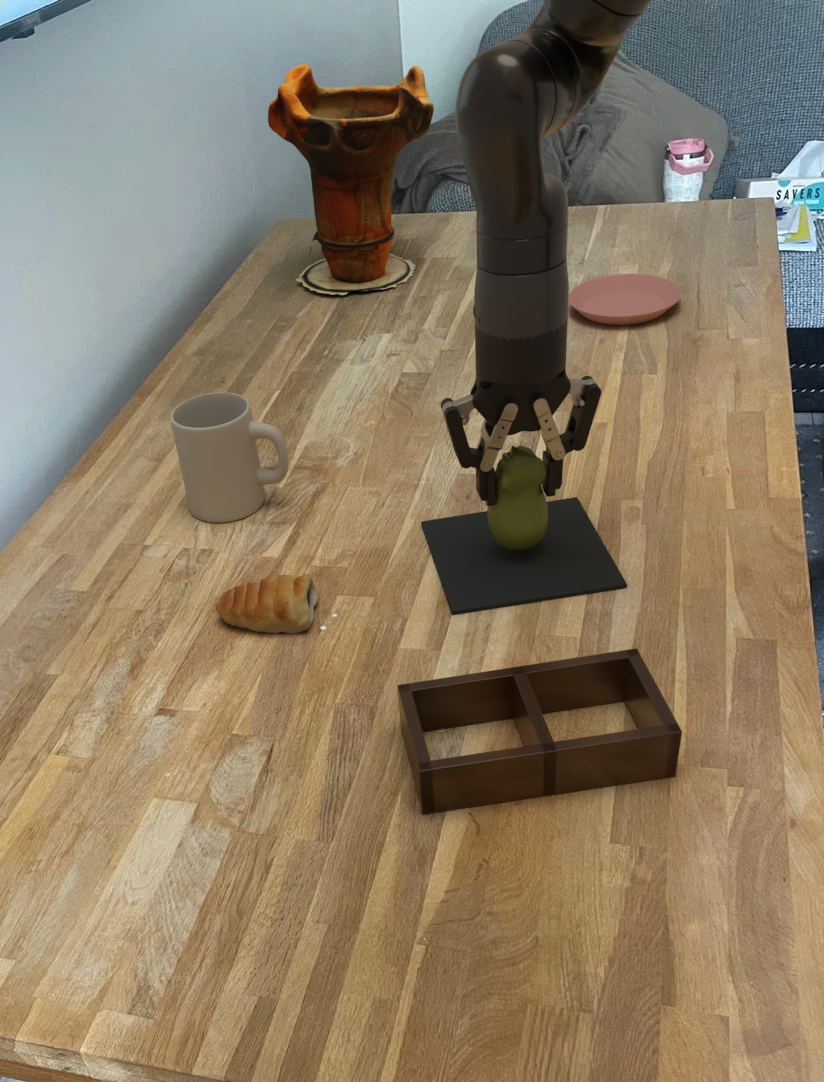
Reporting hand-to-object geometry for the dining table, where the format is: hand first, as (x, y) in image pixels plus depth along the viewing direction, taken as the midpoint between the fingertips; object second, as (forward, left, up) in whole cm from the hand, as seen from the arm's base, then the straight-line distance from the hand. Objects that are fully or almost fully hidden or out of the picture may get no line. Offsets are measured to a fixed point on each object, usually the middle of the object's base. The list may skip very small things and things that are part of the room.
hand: (519, 496), depth 101 cm
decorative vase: (+4, -81, -7) cm, 81 cm away
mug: (+26, -18, -7) cm, 32 cm away
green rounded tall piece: (0, 0, -6) cm, 6 cm away
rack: (+6, +27, -6) cm, 28 cm away
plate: (-27, -53, -7) cm, 60 cm away
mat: (0, 0, -6) cm, 6 cm away
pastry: (+24, +4, -7) cm, 25 cm away
